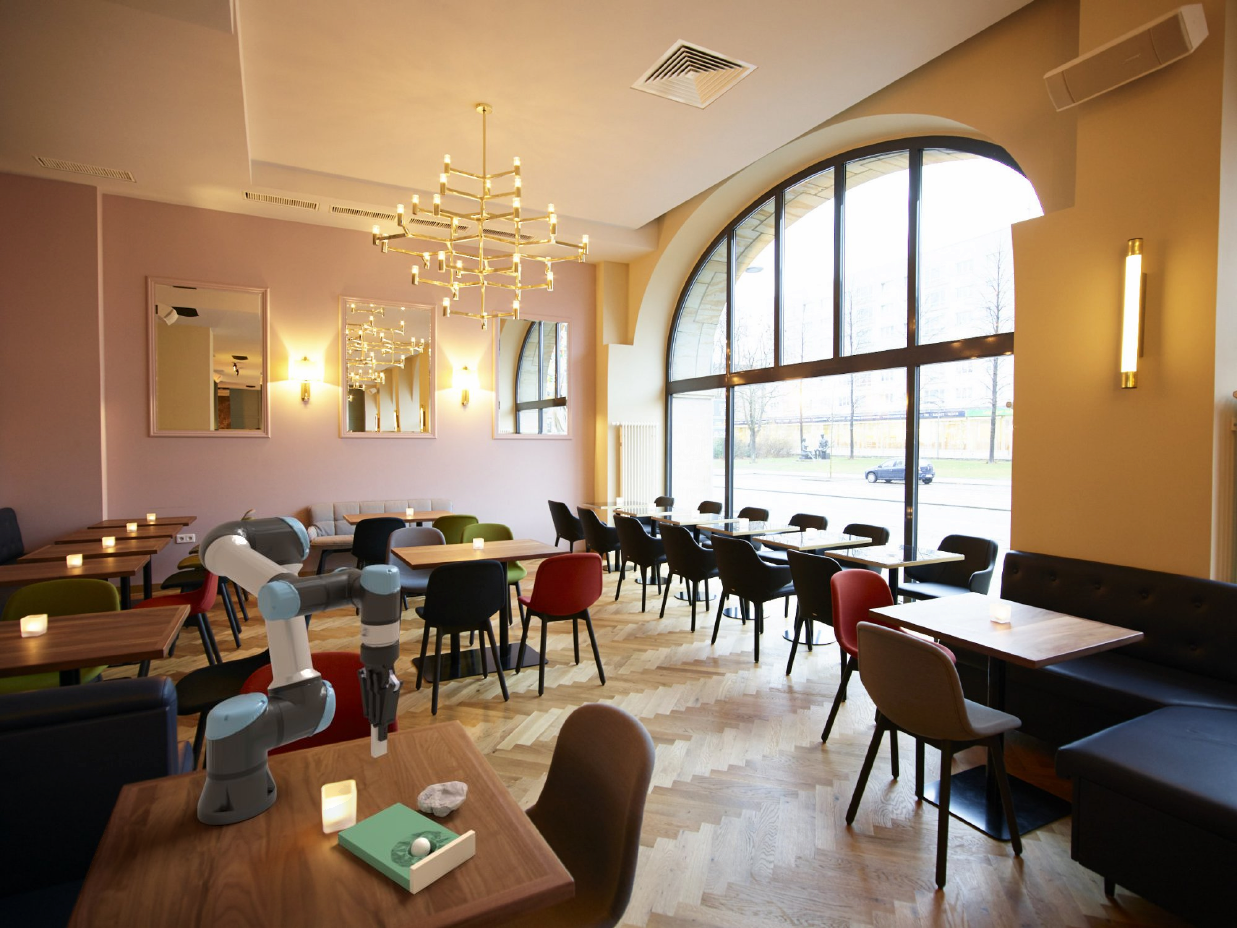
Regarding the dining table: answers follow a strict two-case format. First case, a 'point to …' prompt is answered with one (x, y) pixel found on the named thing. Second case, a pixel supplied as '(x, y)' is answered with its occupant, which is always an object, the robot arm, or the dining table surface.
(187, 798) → the dining table surface
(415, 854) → the ball
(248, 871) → the dining table surface
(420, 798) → the fossil
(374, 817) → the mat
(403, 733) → the dining table surface
